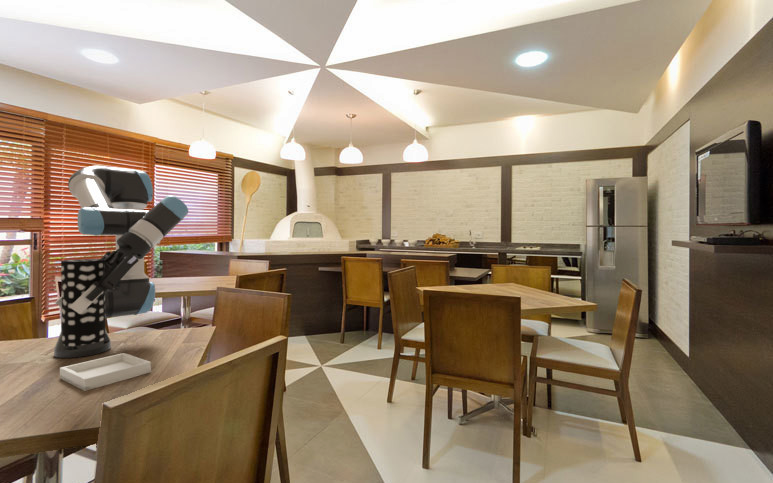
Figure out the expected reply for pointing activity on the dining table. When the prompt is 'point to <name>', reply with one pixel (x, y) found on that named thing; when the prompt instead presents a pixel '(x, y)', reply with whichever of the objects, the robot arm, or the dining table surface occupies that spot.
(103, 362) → the tray
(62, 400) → the dining table surface
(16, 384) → the dining table surface
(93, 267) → the white-spotted black cylinder
